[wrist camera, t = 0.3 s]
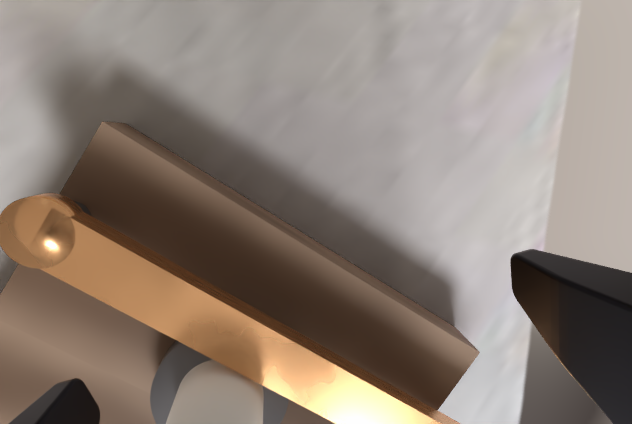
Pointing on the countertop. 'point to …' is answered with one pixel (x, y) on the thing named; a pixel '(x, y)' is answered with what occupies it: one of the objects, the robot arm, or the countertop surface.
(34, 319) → the socket block
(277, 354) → the orange wooden strip
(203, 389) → the plug
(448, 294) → the countertop surface
